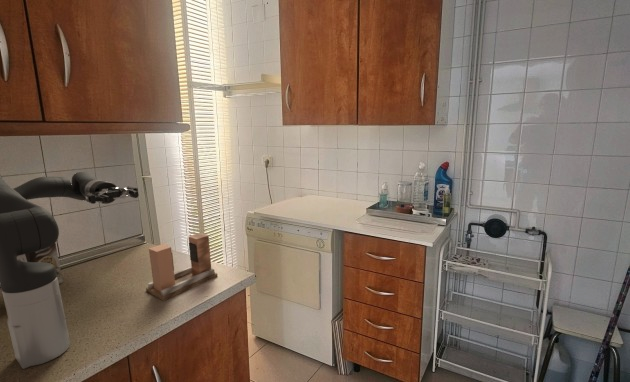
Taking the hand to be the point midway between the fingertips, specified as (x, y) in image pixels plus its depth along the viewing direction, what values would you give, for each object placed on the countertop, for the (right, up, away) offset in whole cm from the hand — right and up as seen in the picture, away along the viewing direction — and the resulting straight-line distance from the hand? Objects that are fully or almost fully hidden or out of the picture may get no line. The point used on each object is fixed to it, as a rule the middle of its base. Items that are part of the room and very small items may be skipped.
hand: (122, 197), depth 104 cm
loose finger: (+14, -28, -2) cm, 31 cm away
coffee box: (-26, -29, +1) cm, 39 cm away
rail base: (+18, -28, +3) cm, 33 cm away
